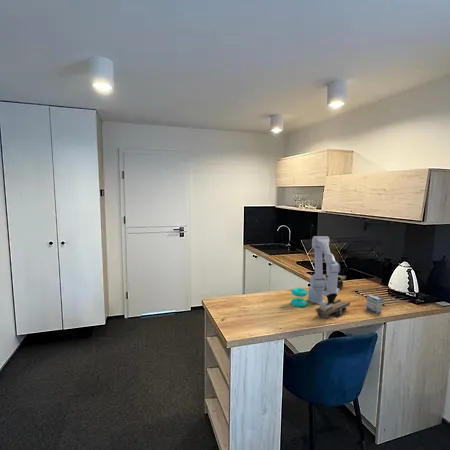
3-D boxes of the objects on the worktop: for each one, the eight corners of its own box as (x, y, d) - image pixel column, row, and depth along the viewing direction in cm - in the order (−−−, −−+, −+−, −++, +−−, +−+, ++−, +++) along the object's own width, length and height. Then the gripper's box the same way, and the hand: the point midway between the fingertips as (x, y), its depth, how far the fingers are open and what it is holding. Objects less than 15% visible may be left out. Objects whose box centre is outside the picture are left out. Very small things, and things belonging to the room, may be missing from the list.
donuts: (289, 290, 195) (294, 286, 203) (288, 305, 196) (294, 300, 204) (304, 293, 189) (309, 289, 198) (303, 308, 190) (308, 304, 199)
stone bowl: (347, 292, 224) (347, 280, 223) (312, 290, 232) (312, 278, 231) (346, 282, 247) (346, 271, 246) (314, 281, 255) (313, 270, 254)
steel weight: (319, 310, 179) (319, 303, 179) (325, 307, 184) (326, 300, 183) (325, 312, 176) (326, 305, 176) (332, 309, 180) (332, 303, 180)
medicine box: (366, 308, 194) (367, 295, 193) (371, 307, 195) (372, 294, 194) (376, 313, 186) (377, 299, 185) (381, 312, 188) (382, 298, 187)
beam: (315, 314, 179) (315, 308, 179) (339, 304, 196) (339, 299, 195) (326, 318, 174) (326, 312, 174) (349, 308, 190) (350, 302, 190)
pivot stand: (321, 311, 187) (321, 305, 186) (335, 305, 197) (336, 299, 196) (337, 317, 178) (338, 311, 178) (351, 311, 188) (352, 305, 188)
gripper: (331, 287, 173) (329, 310, 175) (344, 282, 182) (343, 304, 184) (320, 284, 179) (319, 306, 180) (334, 279, 188) (332, 301, 189)
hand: (330, 305), depth 182 cm, fingers closed
